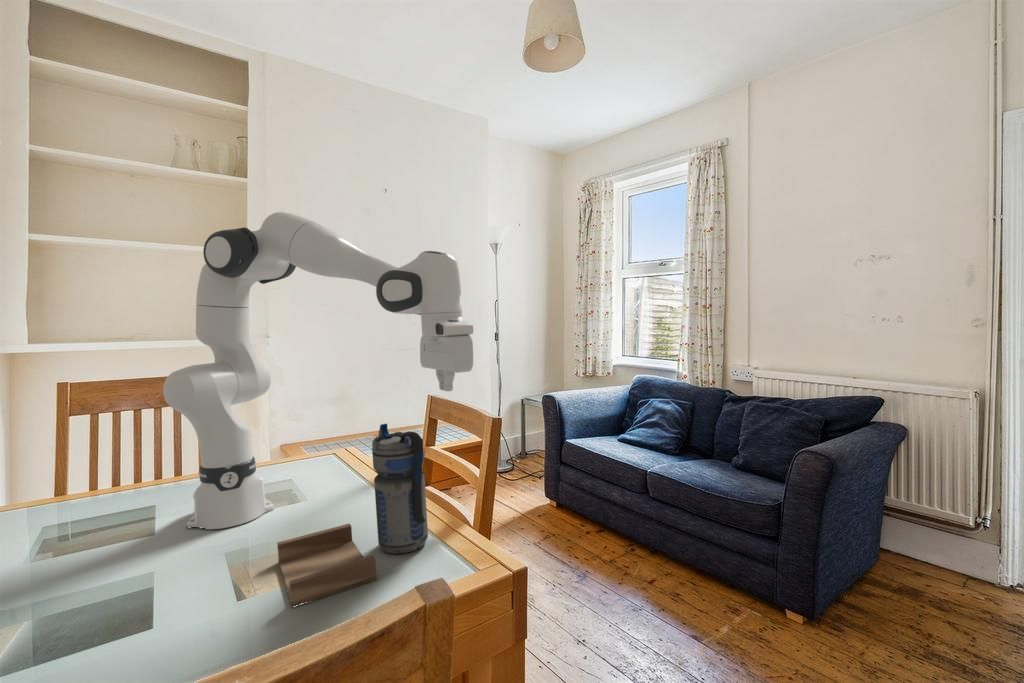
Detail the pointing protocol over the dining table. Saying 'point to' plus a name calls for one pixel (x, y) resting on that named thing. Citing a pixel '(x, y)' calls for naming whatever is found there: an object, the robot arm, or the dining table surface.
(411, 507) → the beverage bottle
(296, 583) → the walnut cradle
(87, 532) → the dining table surface
